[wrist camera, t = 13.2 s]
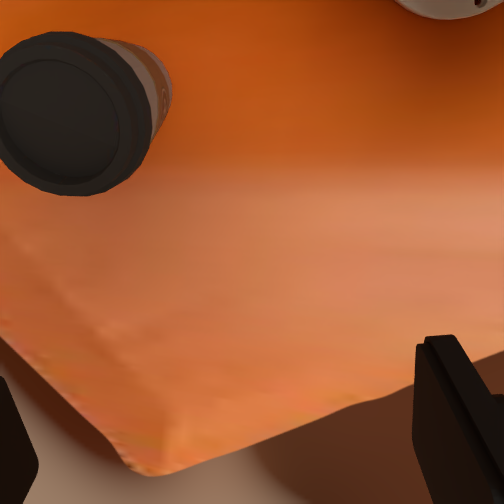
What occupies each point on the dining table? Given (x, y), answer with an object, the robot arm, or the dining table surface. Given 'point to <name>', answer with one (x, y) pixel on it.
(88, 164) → the coffee cup
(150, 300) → the dining table surface
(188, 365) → the dining table surface
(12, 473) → the robot arm
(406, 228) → the dining table surface
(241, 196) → the dining table surface
